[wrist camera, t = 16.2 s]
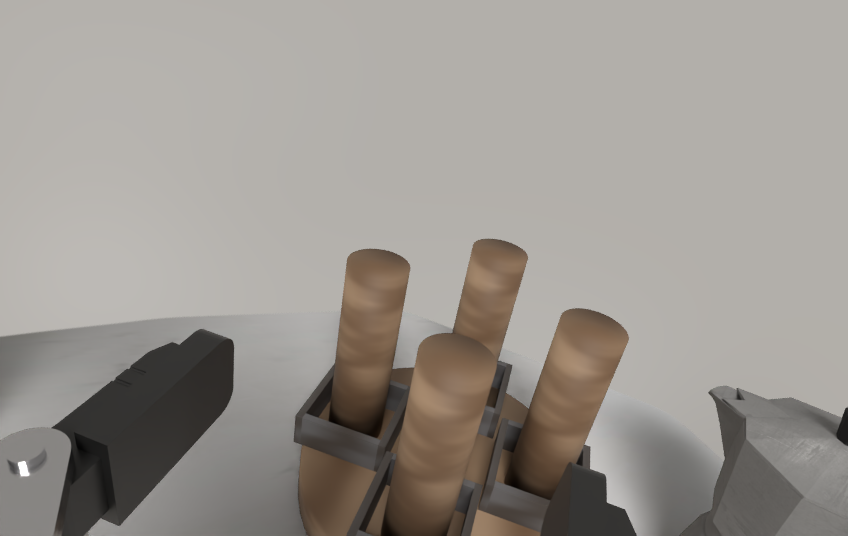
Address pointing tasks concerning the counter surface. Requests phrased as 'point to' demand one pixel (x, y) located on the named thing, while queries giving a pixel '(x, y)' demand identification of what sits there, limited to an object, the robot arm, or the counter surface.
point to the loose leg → (438, 434)
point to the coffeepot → (777, 469)
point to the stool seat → (502, 419)
